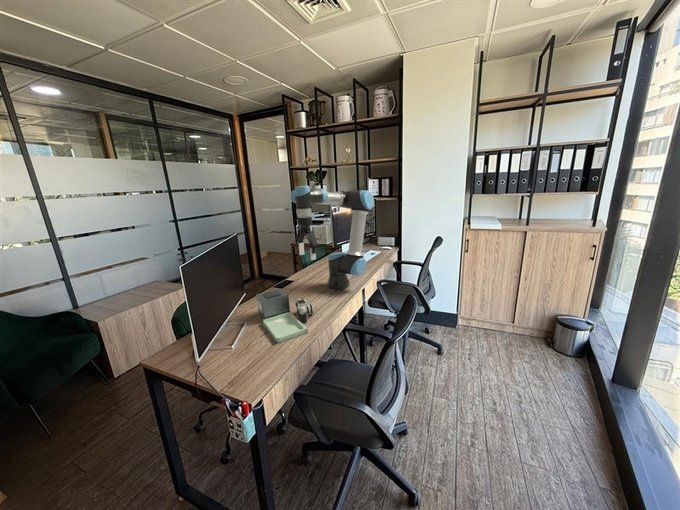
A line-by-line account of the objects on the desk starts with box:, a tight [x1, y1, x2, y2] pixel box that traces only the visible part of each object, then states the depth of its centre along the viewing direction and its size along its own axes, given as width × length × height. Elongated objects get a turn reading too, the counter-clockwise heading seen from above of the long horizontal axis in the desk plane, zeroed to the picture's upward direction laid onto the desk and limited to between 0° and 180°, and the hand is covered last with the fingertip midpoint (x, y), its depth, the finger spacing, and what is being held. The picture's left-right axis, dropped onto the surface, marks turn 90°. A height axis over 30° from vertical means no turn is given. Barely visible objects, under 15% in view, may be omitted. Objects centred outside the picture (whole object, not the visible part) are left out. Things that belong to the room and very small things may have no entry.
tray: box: [262, 311, 308, 345], centre depth 137 cm, size 15×22×2 cm
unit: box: [255, 288, 291, 321], centre depth 151 cm, size 15×12×12 cm
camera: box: [295, 298, 314, 325], centre depth 147 cm, size 16×9×10 cm, turn 16°
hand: (307, 257), depth 146 cm, fingers open, 13 cm apart
